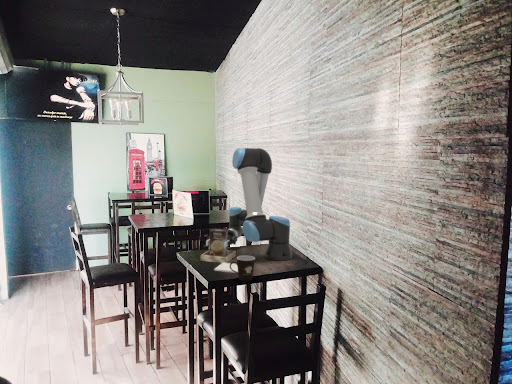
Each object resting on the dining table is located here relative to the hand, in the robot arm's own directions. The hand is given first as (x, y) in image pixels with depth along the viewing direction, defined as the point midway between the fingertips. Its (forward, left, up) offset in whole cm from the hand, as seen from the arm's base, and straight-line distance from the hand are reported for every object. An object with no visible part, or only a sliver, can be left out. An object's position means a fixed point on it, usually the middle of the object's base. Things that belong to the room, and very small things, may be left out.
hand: (215, 244), depth 208 cm
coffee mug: (-23, +24, -9) cm, 34 cm away
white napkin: (-13, +11, -9) cm, 19 cm away
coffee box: (0, -4, -9) cm, 10 cm away
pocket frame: (0, -4, -9) cm, 10 cm away
